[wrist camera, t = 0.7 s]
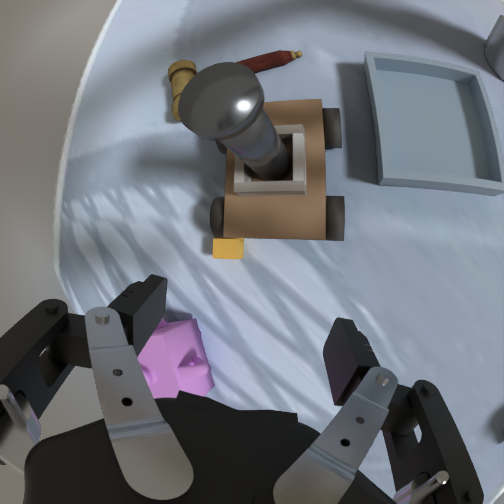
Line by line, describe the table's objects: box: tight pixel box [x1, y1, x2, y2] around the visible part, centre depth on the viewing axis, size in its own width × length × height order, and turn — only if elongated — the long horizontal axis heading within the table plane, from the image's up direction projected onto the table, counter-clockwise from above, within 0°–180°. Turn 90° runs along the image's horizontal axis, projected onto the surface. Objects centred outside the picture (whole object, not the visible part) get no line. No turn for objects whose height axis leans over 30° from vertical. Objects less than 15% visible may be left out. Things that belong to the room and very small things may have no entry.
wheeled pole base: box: [210, 99, 345, 241], centre depth 30 cm, size 16×15×8 cm
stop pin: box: [178, 62, 292, 181], centre depth 21 cm, size 5×5×15 cm
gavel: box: [168, 50, 302, 121], centre depth 34 cm, size 21×5×10 cm
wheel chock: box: [213, 238, 244, 259], centre depth 35 cm, size 4×3×3 cm
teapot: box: [137, 318, 215, 399], centre depth 34 cm, size 15×13×11 cm
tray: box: [364, 52, 504, 196], centre depth 26 cm, size 18×18×4 cm
